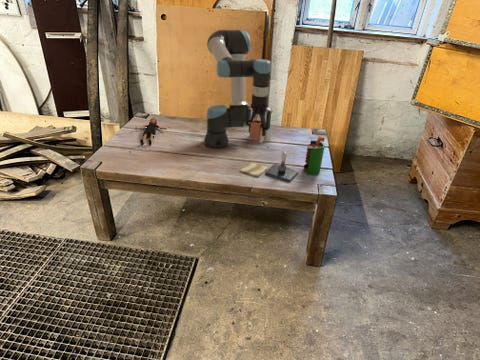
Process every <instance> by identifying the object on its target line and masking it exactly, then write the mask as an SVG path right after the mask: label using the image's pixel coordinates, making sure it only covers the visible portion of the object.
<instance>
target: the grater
mask: <svg viewBox="0 0 480 360" xmlns="http://www.w3.org/2000/svg"><path fill="white" fill-rule="evenodd" d="M268 109H270V110H271V108H270V107H268ZM266 116H267V112H265V121H266ZM256 117H257V118H256V120H260V121H261V119H260V115H259V114H257V115H256ZM271 135H272V134H271V128H270V129H268V130H266V135H265V136H264V139H263V142H270V143H271ZM253 141H254V142H256V141H255V140H253Z"/></svg>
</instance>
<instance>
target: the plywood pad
mask: <svg viewBox="0 0 480 360" xmlns="http://www.w3.org/2000/svg"><path fill="white" fill-rule="evenodd" d="M268 169H269V167H267V166H265V165H262V164H258V163H256V162H252V161H249V162H248V163H247V164H246V165H244V166H243V167H242V168H240V170H239V172H241V173H244V174H247V175H250V176H252V177H255V178H260V177H261V176H262V175H263V174H265V172H266V171H267V170H268Z"/></svg>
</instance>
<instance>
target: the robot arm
mask: <svg viewBox="0 0 480 360" xmlns="http://www.w3.org/2000/svg"><path fill="white" fill-rule="evenodd" d="M206 43H207V44H206V46H207V49H208V51H209V53H210V54H212V55H213V57H214V59H215V61H216V74H217V76H218V78H224V79H226V78H230V94H231V95H230V96H231V98H230V99H231V102H230V103H229V105H228V107H227V106H226V105H225V104H214V105H211V106H209V107H208V108H207V111H206V134H205V136H204V138H203V139H204V142H203V144H204V146H205V147H207V148H208V149H214V150H215V149H216V150H217V149H218V150H221V149H224V148H227V147H228V146H229V145H230V141H229V137H228V133H227V128H228V129H229V128H243V127H244V128H245V127H246V128H247V127H248V133H249V134H250V129H251V122H252V121H254V120H256V117H257V115H258V114H259V115H260V119H261V125H262V130H261V132H260V141H259V143H260V144H261V143H263V142H264V141H263V140H264V138H265V137H264V136H266V130H268V129H270V130H271V119H272V113H273V109H271V108H270V109H268V108H269V107H268V99H269V96H268V95H269V88H270V87H269V86H270V76H271V70H272V69H271V67H272V65H271V64H272V62H271V61H270V60H269V59H263V58H262V59H261V58H259V59H255V58H250V59H248V60H247V59H246V58H247V57H248V53H250V51H251V47H252V45H251V38H250V34H249V33H248V32H247V31H246V30H240V29H220V30H219V29H218V30H216V31H214V32H213V33H211V34H210V35H209V37H208V39H207V42H206ZM245 59H246V60H245ZM246 78H252V90H251V103H250V104H249V103H248V102H247V101H246V100H247V95H246V93H247V92H246V91H247V90H246V88H247V87H246ZM265 113H267V116H266V121H265ZM249 140H250V141H251V139H250V138H249Z"/></svg>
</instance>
